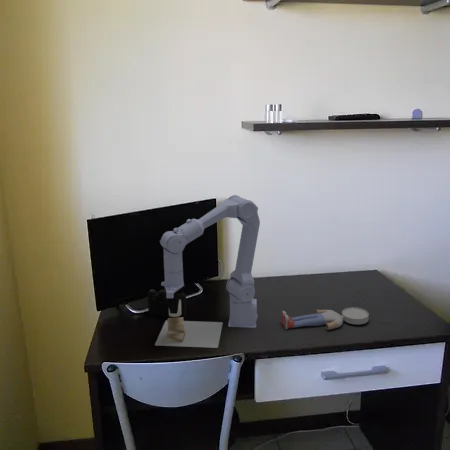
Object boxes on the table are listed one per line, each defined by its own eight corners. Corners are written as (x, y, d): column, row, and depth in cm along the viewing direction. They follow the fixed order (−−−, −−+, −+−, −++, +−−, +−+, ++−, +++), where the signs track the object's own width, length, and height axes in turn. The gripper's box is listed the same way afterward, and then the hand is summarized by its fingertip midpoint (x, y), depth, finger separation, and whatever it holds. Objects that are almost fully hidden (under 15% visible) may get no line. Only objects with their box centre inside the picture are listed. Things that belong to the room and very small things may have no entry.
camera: (193, 308, 180) (192, 283, 177) (183, 321, 170) (182, 294, 167) (158, 304, 183) (156, 279, 180) (146, 316, 173) (145, 290, 171)
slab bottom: (185, 334, 160) (184, 326, 159) (182, 342, 155) (182, 333, 154) (170, 334, 160) (169, 325, 159) (167, 341, 155) (166, 333, 154)
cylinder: (182, 311, 157) (181, 298, 156) (180, 316, 153) (180, 303, 152) (169, 311, 157) (169, 298, 156) (167, 316, 153) (167, 303, 152)
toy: (288, 321, 158) (376, 312, 162) (278, 305, 170) (360, 297, 174) (288, 337, 160) (375, 328, 164) (278, 320, 172) (359, 311, 176)
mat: (222, 323, 168) (222, 322, 168) (217, 348, 151) (217, 347, 151) (165, 321, 170) (165, 320, 169) (154, 346, 153) (154, 345, 153)
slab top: (183, 325, 159) (183, 317, 158) (184, 332, 154) (183, 324, 154) (168, 326, 159) (167, 318, 158) (168, 334, 154) (167, 325, 153)
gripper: (165, 261, 158) (167, 299, 162) (155, 278, 144) (157, 319, 148) (187, 261, 158) (188, 300, 161) (179, 278, 144) (180, 320, 147)
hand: (175, 309), depth 155 cm, fingers closed on cylinder, 4 cm apart
